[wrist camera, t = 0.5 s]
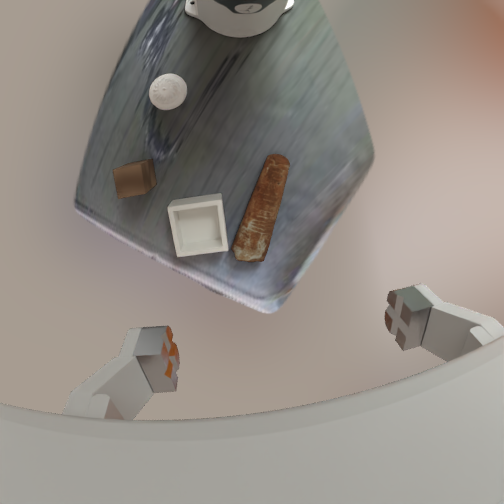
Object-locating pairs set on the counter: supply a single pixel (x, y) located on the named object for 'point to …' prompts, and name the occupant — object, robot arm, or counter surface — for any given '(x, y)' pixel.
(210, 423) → the robot arm
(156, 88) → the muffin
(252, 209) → the bread
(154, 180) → the walnut block
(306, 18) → the counter surface
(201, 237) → the bin
